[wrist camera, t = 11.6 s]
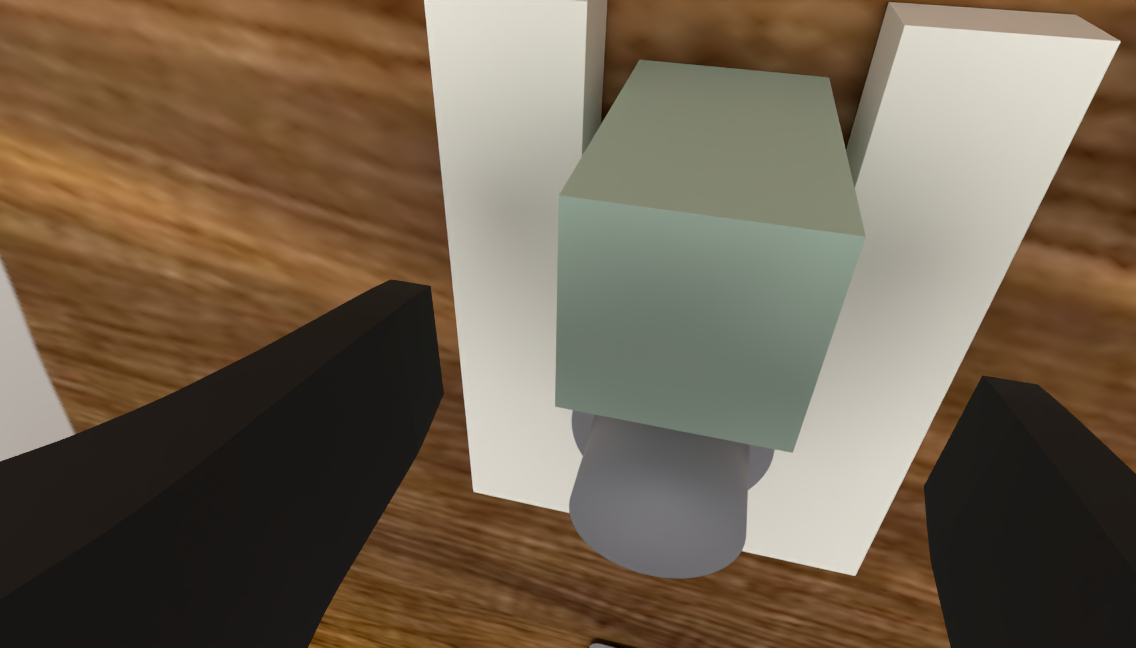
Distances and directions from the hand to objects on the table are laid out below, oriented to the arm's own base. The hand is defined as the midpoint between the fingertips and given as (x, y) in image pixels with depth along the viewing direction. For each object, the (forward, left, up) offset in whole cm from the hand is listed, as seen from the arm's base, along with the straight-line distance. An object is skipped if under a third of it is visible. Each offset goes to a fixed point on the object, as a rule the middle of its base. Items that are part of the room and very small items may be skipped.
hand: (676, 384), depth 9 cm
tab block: (0, 0, -8) cm, 8 cm away
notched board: (-4, 0, -8) cm, 9 cm away
